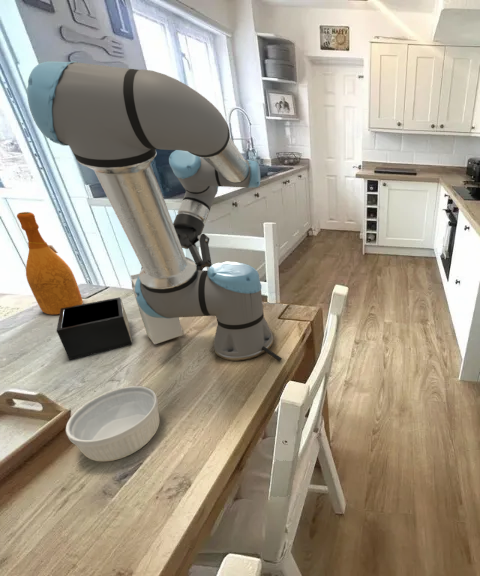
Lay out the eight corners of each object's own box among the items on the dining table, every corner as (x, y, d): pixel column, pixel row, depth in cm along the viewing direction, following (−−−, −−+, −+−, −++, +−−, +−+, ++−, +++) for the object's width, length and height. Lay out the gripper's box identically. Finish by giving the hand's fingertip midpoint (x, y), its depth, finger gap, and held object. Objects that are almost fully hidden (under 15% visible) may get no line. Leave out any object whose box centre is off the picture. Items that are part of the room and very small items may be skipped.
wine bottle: (90, 307, 102) (55, 212, 89) (48, 319, 95) (3, 218, 82) (77, 297, 107) (42, 206, 94) (36, 309, 99) (-8, 211, 86)
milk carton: (183, 335, 91) (166, 271, 84) (154, 345, 87) (133, 278, 80) (175, 327, 96) (158, 266, 89) (147, 336, 91) (127, 272, 84)
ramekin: (66, 479, 54) (50, 452, 51) (92, 420, 65) (80, 394, 62) (159, 454, 59) (149, 428, 56) (169, 403, 70) (162, 379, 67)
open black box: (132, 344, 87) (123, 316, 84) (69, 360, 80) (56, 330, 76) (129, 323, 96) (120, 297, 92) (72, 336, 89) (60, 308, 85)
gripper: (236, 229, 99) (215, 295, 92) (160, 221, 101) (134, 285, 94) (224, 216, 92) (200, 286, 85) (143, 208, 94) (112, 275, 87)
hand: (165, 285), depth 89 cm, fingers open, 13 cm apart
